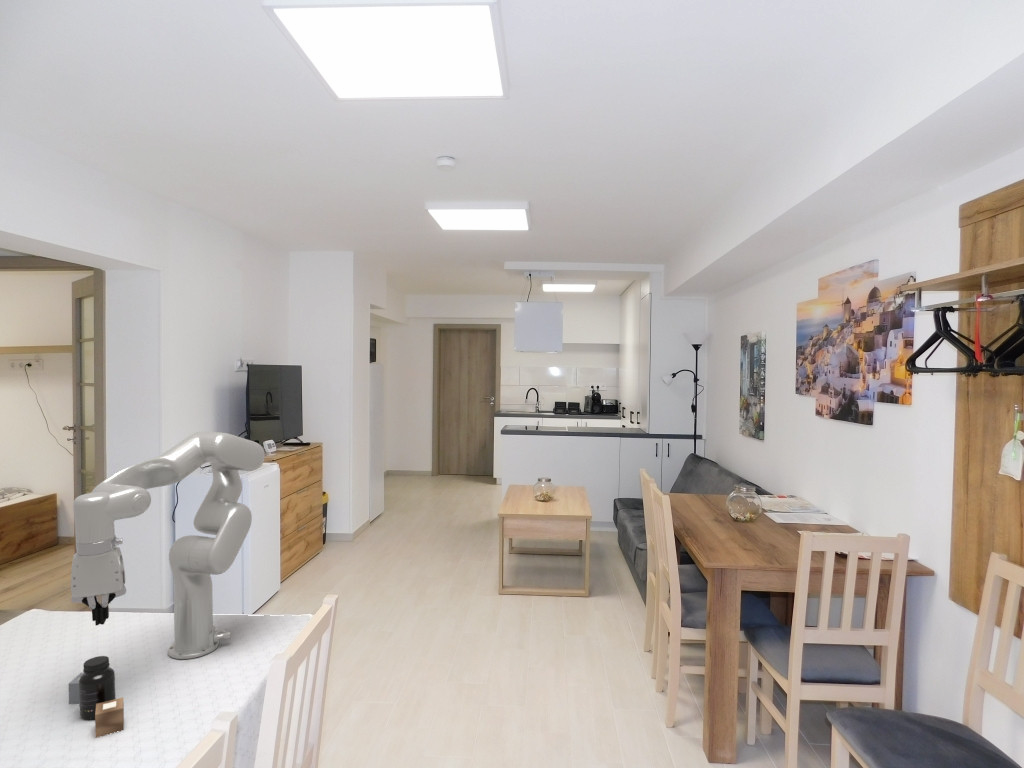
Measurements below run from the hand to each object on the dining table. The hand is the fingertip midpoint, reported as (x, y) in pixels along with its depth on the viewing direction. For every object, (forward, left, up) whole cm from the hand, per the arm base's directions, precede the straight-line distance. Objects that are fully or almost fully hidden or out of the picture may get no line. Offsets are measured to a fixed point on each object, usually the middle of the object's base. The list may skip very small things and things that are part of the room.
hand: (101, 622), depth 142 cm
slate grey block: (+4, -3, -19) cm, 19 cm away
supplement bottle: (0, +5, -19) cm, 20 cm away
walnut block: (-4, +13, -19) cm, 23 cm away
